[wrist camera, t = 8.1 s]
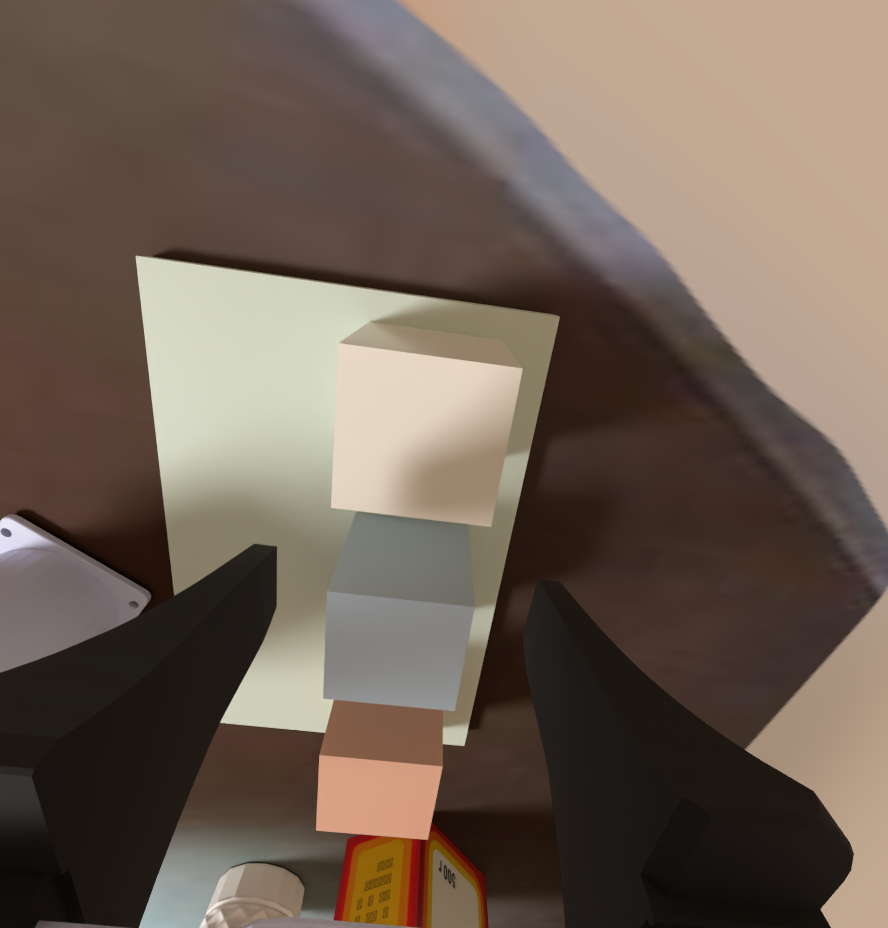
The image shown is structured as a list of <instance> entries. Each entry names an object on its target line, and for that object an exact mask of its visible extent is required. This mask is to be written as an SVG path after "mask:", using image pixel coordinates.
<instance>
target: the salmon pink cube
mask: <svg viewBox="0 0 888 928" xmlns="http://www.w3.org/2000/svg"><path fill="white" fill-rule="evenodd" d="M442 767H443V710H437V709H427V708H416V707H405V706H395V705H384V704H374V703H363V702H353V701H342V700H334V701H333V705H332V709H331V713H330V717H329V720H328V724H327V728H326V732H325V736H324V740H323V744H322V748H321V751H320V756H319V778H318V800H317V823H316V830H317V831H328V832H340V833H352V834H364V835H376V836H388V837H400V838H411V839H423V840H428V836H429V832H430V827H431V822H432V817H433V812H434V807H435V802H436V797H437V792H438V787H439V782H440V777H441V772H442Z"/></svg>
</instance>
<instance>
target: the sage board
mask: <svg viewBox="0 0 888 928" xmlns="http://www.w3.org/2000/svg"><path fill="white" fill-rule="evenodd" d="M136 263H137V272H138V281H139V290H140V298H141V307H142V316H143V325H144V334H145V342H146V351H147V360H148V369H149V378H150V387H151V395H152V404H153V413H154V422H155V431H156V439H157V448H158V457H159V466H160V475H161V483H162V492H163V501H164V510H165V519H166V527H167V536H168V545H169V554H170V563H171V571H172V580H173V589H174V596H175V595H176V594H178V593H180V592H181V591H183V590H185V589H186V588H188V587H190V586H191V585H193V584H195V583H196V582H198V581H199V580H201V579H202V578H204V577H205V576H207V575H208V574H210V573H212V572H213V571H215V570H216V569H218V568H219V567H221V566H222V565H223V564H225V563H226V562H228V561H229V560H231V559H232V558H234V557H235V556H237V555H238V554H240V553H241V552H242V551H244V550H245V549H247V548H248V547H250V546H251V545H253V544H262V545H270V546H277V607H276V610H275V613H274V615H273V618H272V621H271V623H270V626H269V629H268V631H267V634H266V636H265V639H264V641H263V643H262V645H261V647H260V649H259V651H258V653H257V654H256V656H255V658H254V660H253V662H252V664H251V666H250V668H249V669H248V671H247V673H246V675H245V677H244V679H243V681H242V682H241V684H240V686H239V688H238V690H237V692H236V694H235V695H234V697H233V699H232V701H231V703H230V705H229V707H228V708H227V710H226V712H225V714H224V716H223V718H222V720H221V722H220V723H229V724H239V725H250V726H260V727H271V728H281V729H292V730H302V731H313V732H323V733H325V732H326V728H327V724H328V720H329V717H330V713H331V709H332V705H333V701H334V700H332V699H323V684H324V659H325V633H326V607H327V590H328V588H329V585H330V582H331V579H332V577H333V574H334V571H335V569H336V566H337V563H338V560H339V558H340V555H341V552H342V549H343V547H344V544H345V541H346V539H347V536H348V533H349V530H350V528H351V525H352V522H353V519H354V517H355V514H356V512H358V513H367V514H375V515H384V516H393V517H402V518H410V519H419V520H428V521H436V522H445V523H454V522H446V521H437V520H429V519H420V518H412V517H404V516H395V515H387V514H378V513H370V512H362V511H353V510H345V509H337V508H331V493H332V471H333V449H334V427H335V405H336V383H337V361H338V343H339V342H341V341H342V340H344V339H345V338H346V337H348V336H349V335H351V334H352V333H354V332H355V331H357V330H358V329H359V328H361V327H362V326H364V325H365V324H367V323H368V322H375V323H382V324H389V325H396V326H404V327H411V328H418V329H425V330H432V331H439V332H446V333H454V334H461V335H468V336H475V337H482V338H489V339H496V340H501V341H502V342H503V344H504V345H505V346H506V348H507V349H508V350H509V351H510V353H511V354H512V355H513V356H514V358H515V359H516V360H517V361H518V363H519V364H520V365H521V367H522V368H523V371H522V376H521V381H520V386H519V391H518V396H517V401H516V405H515V410H514V415H513V420H512V425H511V430H510V435H509V440H508V445H507V450H506V455H505V460H504V465H503V470H502V475H501V480H500V485H499V490H498V495H497V500H496V505H495V510H494V515H493V520H492V525H491V527H487V526H479V525H471V524H463V525H468V535H469V546H470V557H471V569H472V580H473V591H474V603H475V609H474V614H473V619H472V624H471V630H470V635H469V640H468V645H467V650H466V655H465V660H464V665H463V671H462V676H461V681H460V686H459V691H458V696H457V701H456V707H455V711H448V710H443V744H450V745H460V746H464V745H465V740H466V736H467V731H468V727H469V722H470V718H471V713H472V709H473V704H474V700H475V695H476V691H477V686H478V682H479V678H480V673H481V669H482V664H483V660H484V655H485V651H486V646H487V642H488V637H489V633H490V628H491V624H492V619H493V615H494V610H495V606H496V601H497V597H498V592H499V588H500V583H501V579H502V574H503V570H504V565H505V561H506V556H507V552H508V547H509V543H510V539H511V534H512V530H513V525H514V521H515V516H516V512H517V507H518V503H519V498H520V494H521V489H522V485H523V480H524V476H525V471H526V467H527V462H528V458H529V453H530V449H531V444H532V440H533V435H534V431H535V426H536V422H537V417H538V413H539V408H540V404H541V400H542V395H543V391H544V386H545V382H546V377H547V373H548V368H549V364H550V359H551V355H552V350H553V346H554V341H555V337H556V332H557V328H558V323H559V319H560V317H559V316H557V315H555V314H548V313H541V312H534V311H527V310H520V309H513V308H506V307H499V306H492V305H485V304H478V303H471V302H464V301H457V300H450V299H443V298H436V297H429V296H422V295H415V294H408V293H402V292H395V291H388V290H381V289H374V288H367V287H360V286H353V285H346V284H339V283H332V282H325V281H318V280H311V279H304V278H297V277H290V276H283V275H276V274H269V273H262V272H255V271H249V270H242V269H235V268H228V267H221V266H214V265H207V264H200V263H193V262H186V261H179V260H172V259H165V258H158V257H151V256H136ZM454 524H462V523H454Z"/></svg>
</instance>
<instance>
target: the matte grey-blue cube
mask: <svg viewBox="0 0 888 928" xmlns="http://www.w3.org/2000/svg"><path fill="white" fill-rule="evenodd" d="M474 609H475V603H474V591H473V580H472V569H471V557H470V546H469V535H468V525H463V524H454V523H445V522H436V521H428V520H419V519H410V518H402V517H393V516H384V515H375V514H367V513H358V512H356V514H355V517H354V519H353V522H352V525H351V528H350V530H349V533H348V536H347V539H346V541H345V544H344V547H343V549H342V552H341V555H340V558H339V560H338V563H337V566H336V569H335V571H334V574H333V577H332V579H331V582H330V585H329V588H328V590H327V607H326V633H325V659H324V684H323V699H332V700H342V701H353V702H363V703H374V704H384V705H395V706H405V707H416V708H427V709H437V710H448V711H455V707H456V701H457V696H458V691H459V686H460V681H461V676H462V671H463V665H464V660H465V655H466V650H467V645H468V640H469V635H470V630H471V624H472V619H473V614H474Z"/></svg>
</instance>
